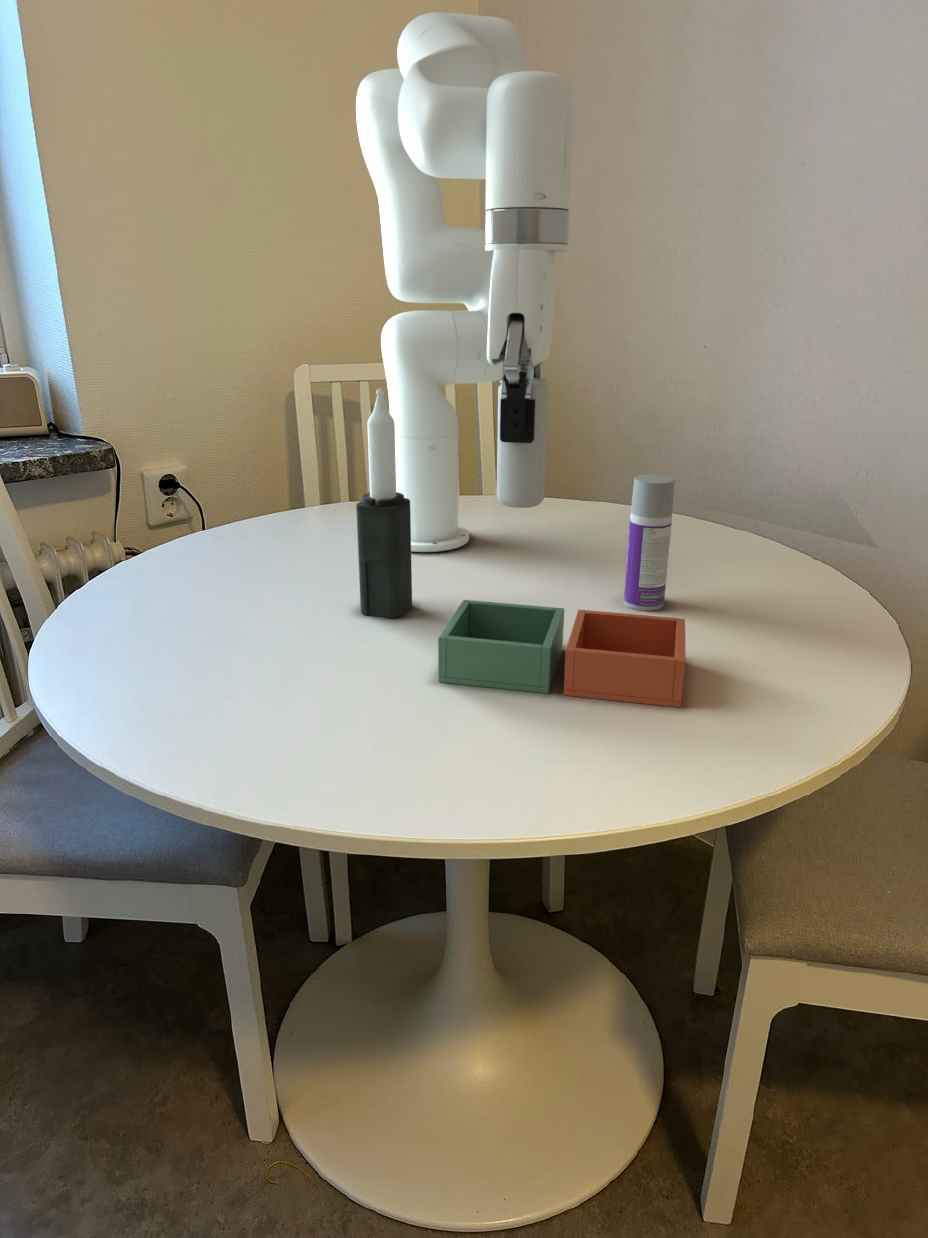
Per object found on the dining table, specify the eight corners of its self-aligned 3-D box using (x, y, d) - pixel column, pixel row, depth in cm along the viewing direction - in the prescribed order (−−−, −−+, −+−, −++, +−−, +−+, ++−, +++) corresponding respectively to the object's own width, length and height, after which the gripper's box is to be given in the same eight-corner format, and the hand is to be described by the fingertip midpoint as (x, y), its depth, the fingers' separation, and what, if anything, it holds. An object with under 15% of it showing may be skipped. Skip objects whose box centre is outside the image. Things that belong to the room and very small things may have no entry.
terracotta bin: (563, 695, 81) (565, 650, 79) (575, 650, 91) (578, 609, 89) (680, 707, 79) (685, 661, 77) (680, 660, 88) (685, 618, 87)
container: (619, 597, 106) (628, 474, 100) (657, 596, 106) (668, 473, 100) (629, 611, 101) (639, 483, 96) (668, 610, 102) (681, 483, 96)
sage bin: (438, 682, 84) (437, 637, 82) (463, 639, 93) (463, 599, 91) (548, 693, 81) (550, 648, 80) (562, 649, 91) (564, 608, 89)
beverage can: (544, 498, 90) (548, 377, 86) (544, 509, 85) (549, 383, 81) (497, 496, 90) (499, 377, 86) (494, 508, 86) (497, 382, 81)
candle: (415, 604, 103) (411, 386, 94) (398, 619, 98) (392, 392, 89) (375, 599, 104) (368, 384, 95) (357, 614, 100) (347, 390, 91)
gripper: (502, 238, 87) (499, 422, 94) (466, 229, 72) (465, 451, 78) (577, 237, 86) (569, 425, 92) (557, 228, 70) (548, 454, 77)
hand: (521, 435), depth 85 cm, fingers closed on beverage can, 4 cm apart
